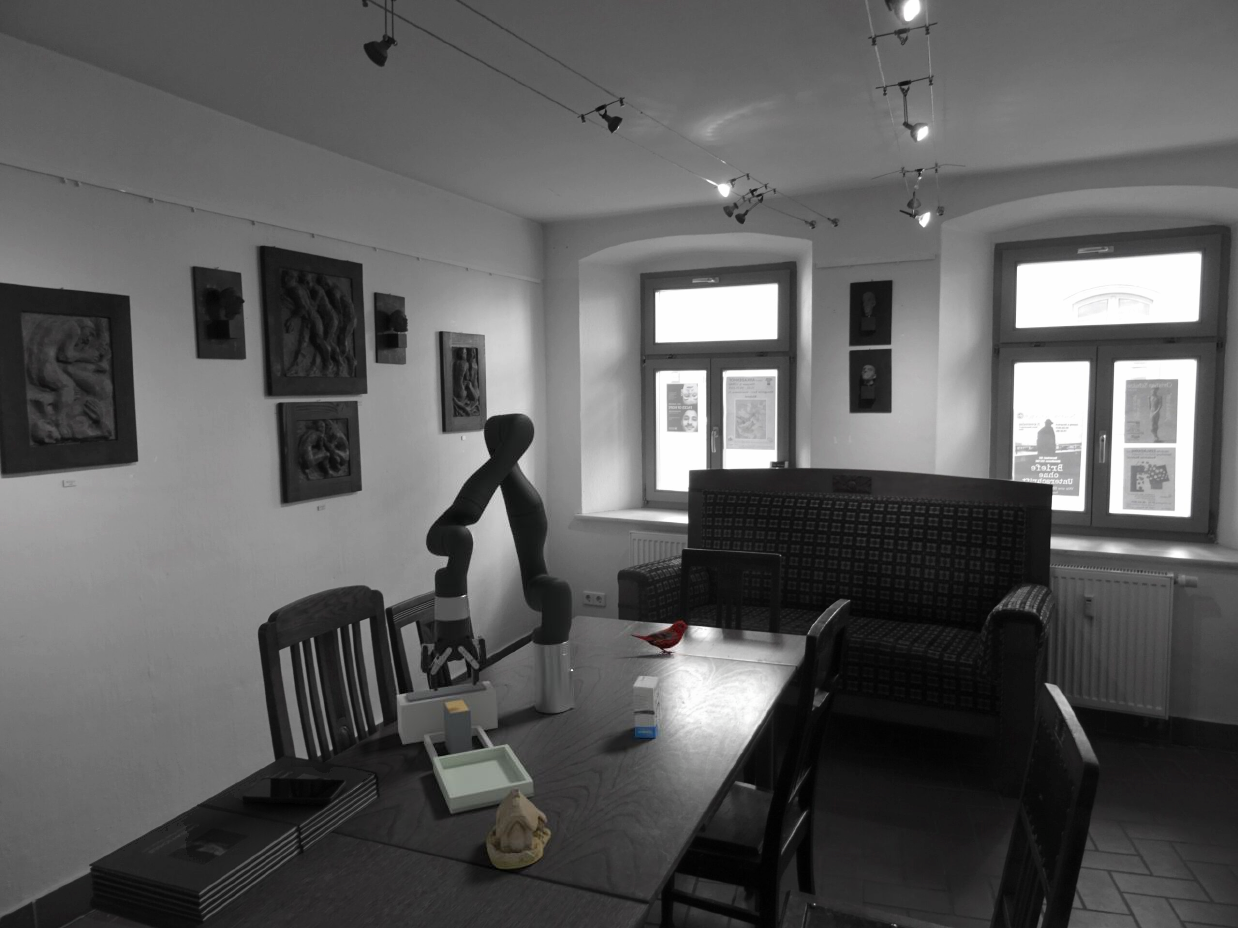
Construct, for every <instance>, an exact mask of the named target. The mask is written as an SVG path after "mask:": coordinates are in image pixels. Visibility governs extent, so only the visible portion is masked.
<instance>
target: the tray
mask: <svg viewBox="0 0 1238 928" xmlns="http://www.w3.org/2000/svg"><path fill="white" fill-rule="evenodd" d="M432 768H433V771H432V772H433V774H434V777H435V779H436V781H437V784H438V786H439V789H440V791H441V793H442V796H443V798H444V800H445V803H446V805H447V807H448V810H449V812H450V814H456V813H462V812H465V811H471V810H477V809H480V808H485V807H489V806H490V807H491V806H494V805H500V804H501V802H502V801H503V800H504V798H505V797H506V796H507V795H508V794H509V793H510V791H511V789H512V788H517V789H519V790H520V793H521V794H523V795H524V796H525V797H526V798H527V799H528V798H533V797H535V793H534V781H533V779H532V777H531V776H530V775H529V773H528V772H527V770H526V769H525V767H524V766H523V764H522V763H521V762H520V760H519V758H518V757H517V756H516V754H515V753H514V751H513V749H512V748H511V746H510V745H509V744H508V743H506V744H502V745H496V746H494V747H490V748H479V749H474V750H472V751H468V752H463V753H457V754H452V755H450V754H447V755H443V756H438V757H436V758H433V763H432Z"/></svg>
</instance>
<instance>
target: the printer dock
mask: <svg viewBox="0 0 1238 928" xmlns="http://www.w3.org/2000/svg"><path fill="white" fill-rule="evenodd" d="M461 699H463V700H464V701H465V703H466V704H467V706H468V707H469V709H470V712H471V733H472V737H476V736H477V738H478V739H479V742H480V743H481V745H482V746H483V749H485V748H490V747H495V746H494V744H493V743H492V741H491V740H490V738H489V737H488V735H487V733H486V732H485V731H486V730H493V729H498V727H499V725H498V723H499V721H498V699H497V690H496V688H495V687H494V686H493V685H492V683H491V682H490V681H489V680H486V681H479V682H477V685H474V686H473V685H472V682H470V683H464V684H458V685H457V684H456V685H448V686H444V687H438V691H434V690H433V689H432V688H431V689H425V690H424V689H423V690H417V691H412V692H406V693H402V694H401V693H400V694H396V708H397V709H396V711H397V727H398V728H397V730H398V734H399V735H398V736H399V738H400V740H401V743H402V745H407V744H414V743H419V742H423V744H424V748H425V749H426V752H427V753H428V757H429V759H430V761H431V764H433V758H436V757H439V756H438V753H437V751H436V749H435V747H434V744H437V743H444V742H445V727H444V706H443V702H449V701H455V700H461Z"/></svg>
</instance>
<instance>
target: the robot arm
mask: <svg viewBox="0 0 1238 928" xmlns="http://www.w3.org/2000/svg"><path fill="white" fill-rule="evenodd" d="M534 426H535V425H534V423H533V421H532V419H531V418H530V417H529V416H528V415H527V414H525V413H514V412H513V413H504V414H497V415H491V416H490V417H488V418H487V419H486V421H485V423H484V428H483V439H484V443H485V447H486V449H487V452H488V456H489V459H487V460H486V461H485V462H484V463H483V464H481V466H480V467H479V468H477V469H476V471H474V472H473V473H472V474H471V475H470V476H469V477H468V478H467V480H466V481H465V482H464V483H463V485H462V486H461V488H460V490H459V492H458V493H457V495H456V497H455V498H454V500H453V502H452V503H451V505H450V506H449V507H448V508H446V509H445V511H443V513H442V514H441V515H440V516H439V517H438V518H436V520H435V521H434V522H433V524H431V526H430V527H429V529H428V532H427V534H426V538H425V544H426V545H425V546H426V548H427V550H428V552H429V553H430V554H432V555H434V556H437V557H445V558H447V559H448V560H447V563H446V566H445V567H444V566H443V567H440V568H438V569H436V571H435V573H434V595H435V596H434V625H435V626H434V631H435V632H434V633H435V639H434V640H435V641H434V643H430V644H429V643H428V644H427V643H425V642H423V643H421V644H420V666H419V669H420V670H421V672H422V673H423V674H429V686H430V688H431V689H433V690H434V691H438V688H439V685H438V683H439V682H438V673H437V672H438V670H439V669H440V668H441V667H442V666H443V664H444V663H445V662H447V663H451V662H454V661H462V660H464V659H465V660H467V662H468V663H469V664H470V665H471V667H470V674H471V675H470V676H471V678H470V679H471V680H470V681H471V683H472V685H473V686H474V685H477V682H480V672H479V671H480V667H482V666H486V665H487V664H488V658H487V649H486V640H485V638H484V637H482V636H481V635H480V636H479V635H478V636H477V637H476V638H472V637H471V622H470V618H471V617H470V614H471V610H470V600H469V595H468V593H469V592H468V591H469V590H468V571H469V569H470V565H471V559H472V555H473V551H474V538H473V535H472V532H471V530H470V529H469V528H468V526H473V525H475V524H477V523H478V522H479V520H480V519H481V517H482V516H483V514H484V512H485V511H486V509H487V507H488V505H489V504H490V501H491V500H492V497H493V496H494V494H495V493H496V492H497V489H498V488H499V487H500V491H501V494H502V498H503V502H504V507H505V511H506V516H507V520H508V524H509V527H510V531H511V535H512V538H513V543H514V548H515V551H516V555H517V560H518V565H519V569H520V571H519V572H520V577H521V585H522V592H523V597H524V602H525V603H526V604H527V606H528V607H529V608H530V609H532V610H533V611H536V612H537V613H540V614H541V621H540V622H541V625H540V626H537V627H535V628H534V629H533V630H532V633H531V640H532V641H531V642H532V661H533V662H532V663H533V684H534V685H533V688H534V692H533V693H534V709H535V710H536V711H537V712H539V713H542V714H543V713H544V714H559V713H562V712H565V711H568V710H570V709H574V708H575V693H574V692H575V691H574V687H575V686H574V670H573V669H572V668H571V657H570V656H571V655H570V653H571V652H570V632H571V629H572V622H573V618H572V617H573V598H572V597H573V595H572V589H571V587H570V584H569V583H568V582H567V581H566V580H565V579H563V578H559V577H554V576H550V574H549V572H548V569H547V566H546V561H545V556H544V555H545V553H544V550H545V549H544V548H545V544H546V540H547V535H548V526H549V524H548V518H547V513H546V510H545V507H544V506H545V505H544V501H543V499H542V497H541V495H540V494H539V492H538V491H537V489H536V487H535V486H534V485H533V484H532V483H531V481H530V480H529V479H528V478H527V477H526V475H525V474H524V472H523V470H522V469H521V467H520V465H519V460H520V459H521V458H522V457H523V455H524V454H525V453H526V452H527V450H528V449H529V448H530V446H531V445H532V444H533V441H534V437H535V427H534ZM473 645H474V646H475V648H476V649H478V659H477V660H476V659H475V658H474V657H473V656H472V655H471V654H470V652H469V651H470V650H471V648H472V647H473ZM433 650H434V651H435V652H436V656H435V658H434V659H433V661H432V663H431V664H430V666H429V655H431V653H432V651H433Z"/></svg>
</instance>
